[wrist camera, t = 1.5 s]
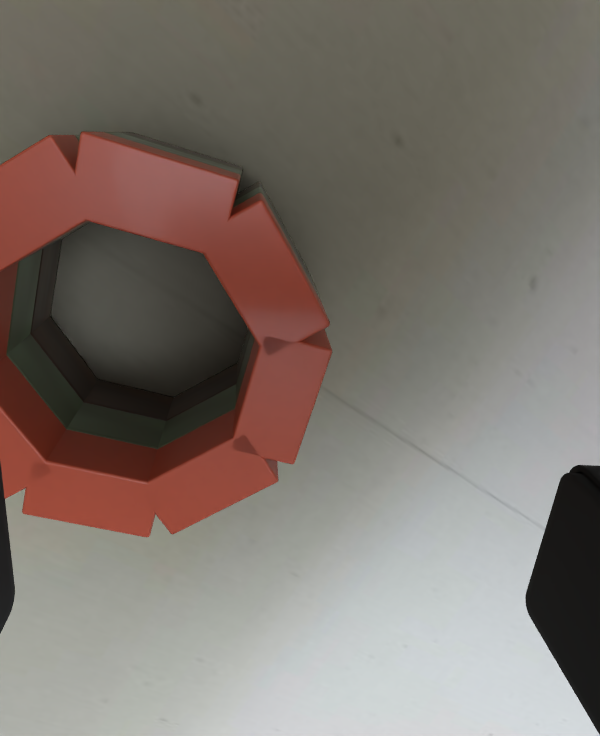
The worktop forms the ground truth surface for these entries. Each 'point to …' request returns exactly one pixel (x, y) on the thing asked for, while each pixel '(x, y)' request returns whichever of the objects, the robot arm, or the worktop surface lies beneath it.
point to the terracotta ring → (244, 287)
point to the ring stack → (76, 381)
